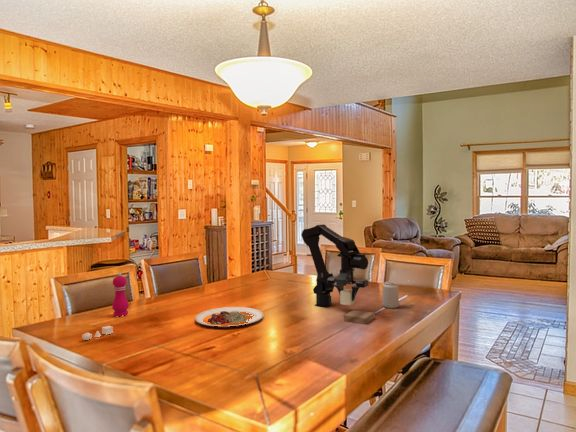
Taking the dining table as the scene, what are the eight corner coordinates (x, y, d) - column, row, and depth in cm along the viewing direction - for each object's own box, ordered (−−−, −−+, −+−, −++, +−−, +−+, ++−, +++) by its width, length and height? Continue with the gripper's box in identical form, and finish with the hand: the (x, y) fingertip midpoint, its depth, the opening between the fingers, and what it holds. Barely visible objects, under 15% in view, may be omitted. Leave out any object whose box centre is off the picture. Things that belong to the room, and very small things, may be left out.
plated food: (271, 312, 211) (271, 305, 211) (249, 332, 182) (249, 324, 182) (213, 309, 219) (212, 302, 219) (182, 327, 190) (182, 319, 190)
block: (340, 304, 209) (340, 291, 209) (344, 301, 213) (344, 289, 213) (350, 305, 206) (350, 292, 206) (354, 302, 211) (354, 290, 210)
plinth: (344, 322, 195) (343, 315, 195) (353, 316, 203) (353, 309, 203) (365, 325, 189) (365, 318, 189) (374, 319, 198) (374, 312, 198)
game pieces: (108, 333, 184) (108, 325, 184) (113, 334, 182) (113, 326, 182) (80, 341, 175) (80, 333, 174) (85, 342, 173) (85, 334, 173)
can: (399, 309, 212) (398, 284, 212) (382, 308, 214) (382, 283, 213) (398, 305, 220) (398, 280, 219) (382, 304, 221) (382, 280, 221)
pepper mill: (132, 314, 212) (130, 271, 210) (120, 318, 205) (119, 274, 204) (120, 312, 215) (119, 271, 214) (109, 316, 208) (107, 273, 207)
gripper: (321, 268, 207) (321, 301, 208) (359, 271, 197) (359, 306, 198) (331, 264, 216) (332, 296, 217) (368, 267, 207) (369, 301, 207)
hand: (347, 300), depth 210 cm, fingers closed on block, 5 cm apart
